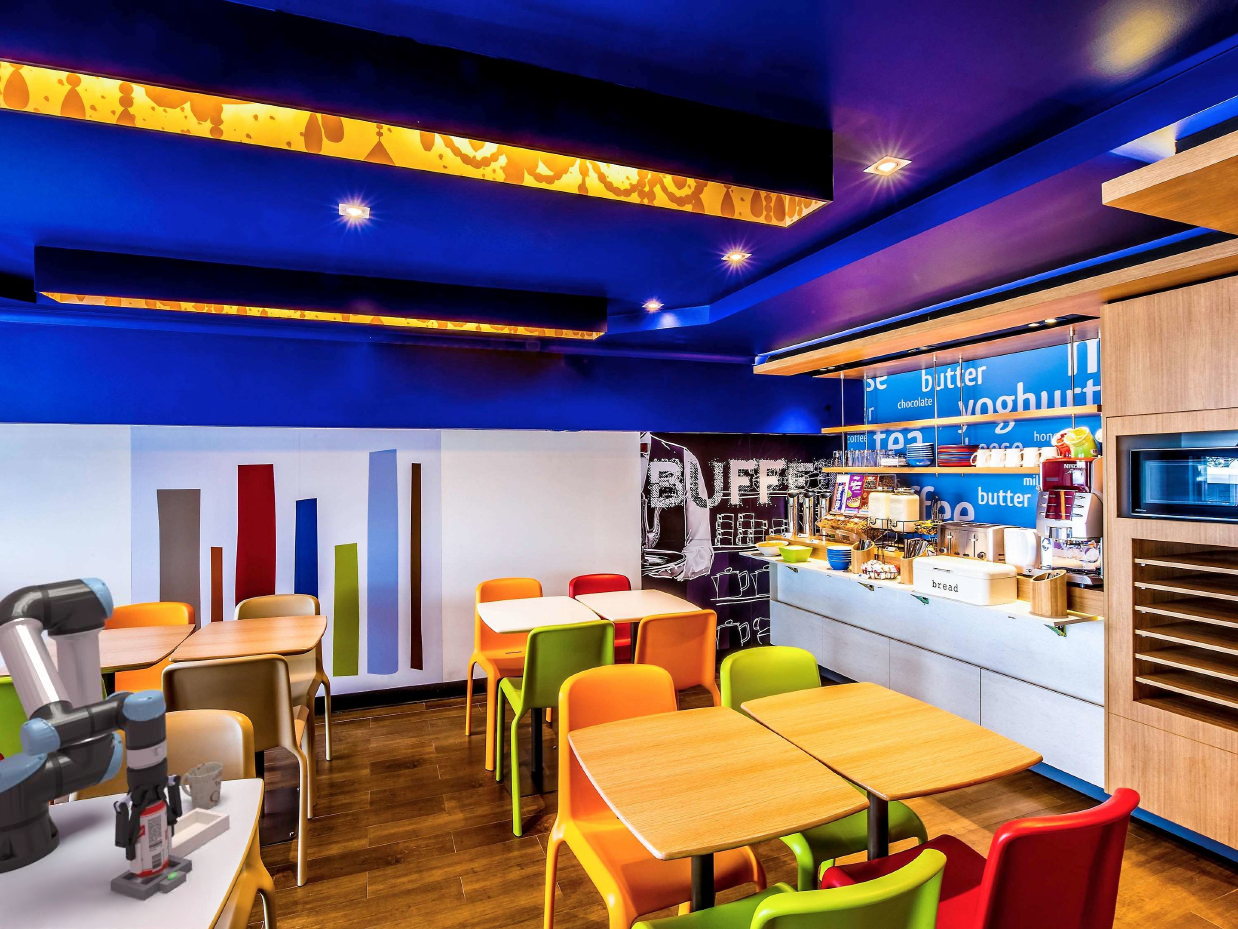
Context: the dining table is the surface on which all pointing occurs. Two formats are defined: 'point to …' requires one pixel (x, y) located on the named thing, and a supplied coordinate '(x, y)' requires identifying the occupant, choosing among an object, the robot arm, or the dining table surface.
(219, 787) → the mug
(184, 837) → the cream rectangular tray
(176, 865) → the frame
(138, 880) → the plate
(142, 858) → the beer can
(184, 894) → the dining table surface
